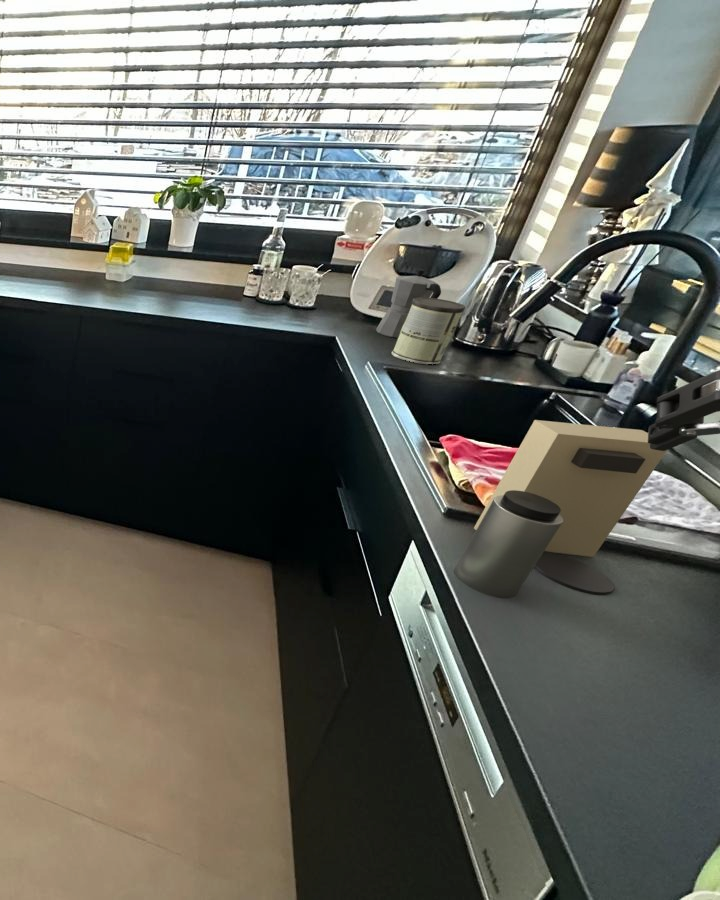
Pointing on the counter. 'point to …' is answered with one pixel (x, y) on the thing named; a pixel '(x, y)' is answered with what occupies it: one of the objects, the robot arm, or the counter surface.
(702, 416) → the robot arm
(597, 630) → the counter surface
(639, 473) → the coffee maker
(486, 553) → the grey canister
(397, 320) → the coffeepot
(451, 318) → the coffee can
